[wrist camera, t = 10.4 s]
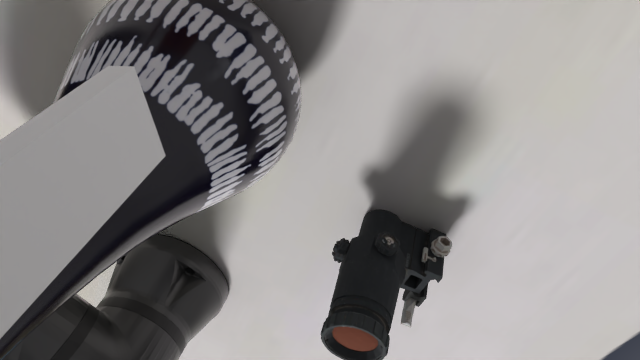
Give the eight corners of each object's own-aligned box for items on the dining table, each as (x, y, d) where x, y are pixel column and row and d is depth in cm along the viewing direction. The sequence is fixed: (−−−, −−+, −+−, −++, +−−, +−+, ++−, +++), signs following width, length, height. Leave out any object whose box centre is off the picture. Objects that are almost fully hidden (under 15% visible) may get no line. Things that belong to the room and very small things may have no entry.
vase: (312, -51, 32) (-75, 273, 10) (330, 140, 41) (156, 516, 20) (120, -43, 36) (-447, 195, 14) (177, 128, 46) (-106, 426, 24)
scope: (402, 395, 39) (294, 348, 39) (420, 271, 49) (334, 234, 49) (448, 354, 33) (321, 300, 33) (456, 224, 44) (360, 183, 44)
